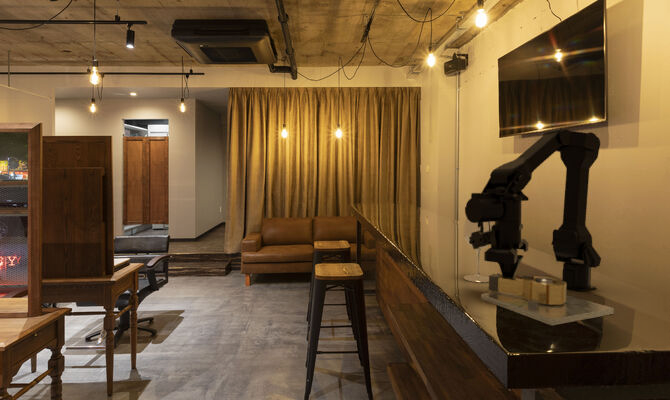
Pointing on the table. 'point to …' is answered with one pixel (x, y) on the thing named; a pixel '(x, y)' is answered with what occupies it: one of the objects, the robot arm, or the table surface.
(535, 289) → the octagonal ring with handle
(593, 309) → the post base
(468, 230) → the wineglass
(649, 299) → the table surface
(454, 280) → the table surface
